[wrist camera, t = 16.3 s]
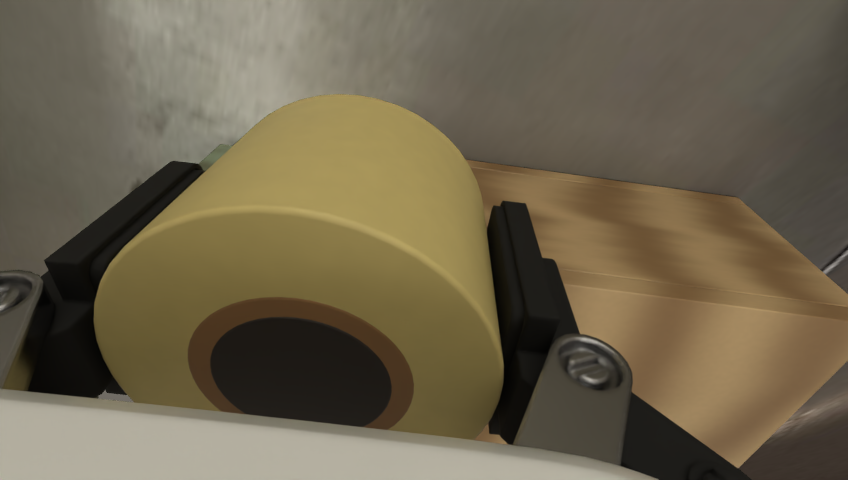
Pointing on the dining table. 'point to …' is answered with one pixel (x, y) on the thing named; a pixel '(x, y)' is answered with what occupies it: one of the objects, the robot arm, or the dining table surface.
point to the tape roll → (316, 280)
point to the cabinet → (686, 299)
